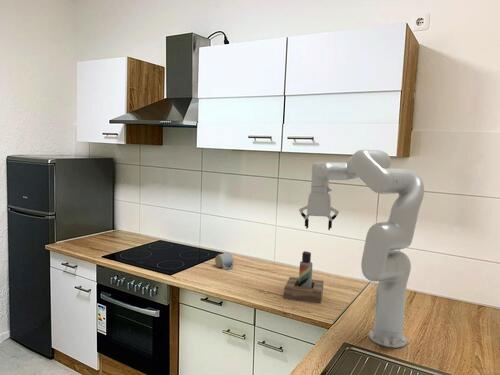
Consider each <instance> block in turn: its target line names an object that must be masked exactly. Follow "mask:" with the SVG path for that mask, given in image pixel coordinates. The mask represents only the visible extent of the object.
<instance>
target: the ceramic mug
mask: <svg viewBox="0 0 500 375" xmlns="http://www.w3.org/2000/svg"><path fill="white" fill-rule="evenodd" d="M214 262H215V265H216V267H218V268H222V269H225V270H228V271H229V270H230V269H231V270H233V268H234V256H233V254H232V253H231V252H229V251H227V252H224V253H219V254H217V255H216V256H215V258H214ZM231 270H230V271H231Z"/></svg>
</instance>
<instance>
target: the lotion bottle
mask: <svg viewBox="0 0 500 375" xmlns="http://www.w3.org/2000/svg"><path fill="white" fill-rule="evenodd" d="M301 254H302V256H301V261H299V274H298V278H299V287H306V288H311V283H312V280H313V278H312V277H313V262H312V261H311V258H312V253H311V252H310V251H305V250H304V251H303V252H302V253H301Z"/></svg>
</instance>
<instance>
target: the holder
mask: <svg viewBox="0 0 500 375" xmlns="http://www.w3.org/2000/svg"><path fill="white" fill-rule="evenodd" d="M324 284H325V283H324V280H319V279H312V283H311V288H306V287H299V277H295V276H289V277H288V280H287V281H286V283H285V287H284V289H283V290H284V291H283V292H284V293H283V299H284V300H289V301H290V300H291V301H297V302H298V301H299V302H304V303H312V304H313V303H314V304H321V303H322V299H323V293H324Z"/></svg>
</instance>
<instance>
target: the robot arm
mask: <svg viewBox="0 0 500 375" xmlns="http://www.w3.org/2000/svg"><path fill="white" fill-rule="evenodd" d="M391 164H392V159H391V156H390V155H389V154H388V153H387V152H385V151H383V150H379V149H377V150H376V149H360V150H357V151H355V153H353V154H352V156H350V157H349V158H348V159H347V161H345V162H339V161H338V162H337V161H333V162H332V161H324V162H317V161H316V162H313V163H312V164H311V165H312V166H311V182H310V183H311V184H310V185H311V187H310V192H309V193H308V198H307V204H306V205H305V206H303V207H301V208H299V209H298V211H299V214H300V215H301V217H302V218H303V219H304V227H305V229H309V217H310V216H313V217H324V218H325V217H327V219H328V227H327V228H328V229H327V230H328V231H330V230H331V229H332V228H333V221H334V220H335V219H336V218H337V216H338V215H339V213H340V211H339V210H337V209H336V208H334V207H332V203H331V202H332V201H331V200H332V199H331V193H330V192H332V191H333V189H332V187H329V184H330V181H346V180H347V181H349V180H353V179H358V178H359V179H360V180H361V181H362V182H363V183H364V184H365V185H366V187H367V188H369V189H370V190H371V191H373V192H374V193H376V194H382V195H387V194H389V195H390V194H392V195H394V194H398V197H397V198H396V199H395V200H394V202H393V203H392V206H391V209H390V214H389V218H388V220H387V221H382V222H376V223H374V224H372V226H370V228H369V229H368V231H367V233H366V236H365V242H364V246H363V252H362V255H361V256H362V257H361V262H360V263H361V265H360V266H361V267H360V268H361V272H362V274H363V277H364V278H365V279H367V280H368V281H370V282H373V283H375V282H377V287H376V294H375V309H374V324H373V329H370V330H369V332H368V338H369V339H370V340H371V341H372V342H373V343H375V344H377V345H380V346H382V347H386V348H393V349H394V348H395V349H396V348H403V347H405V346H406V345H407V343H408V340H407V337H406V336H405V335H404V334H403V331H404V321H405V320H404V319H405V308H406V307H405V305H406V295H407V294H406V293H407V285H408V282H409V278H410V274H411V269H412V264H411V260H410V257H409V256H408V255H407V254H406V253H405V252H403V251H400V250H404V249H407V248H409V247H410V246H411V244H412V242H413V238H414V235H415V234H414V233H415V230H416V225H417V222H418V216H419V212H420V207H421V206H422V202H423V199H424V197H425V196H424V195H425V185H424V182H423V180H422V178H421V176H420V175H419V174H418V173H417V172H415V171H413V170H411V169H407V168H390V167H391ZM305 210H306V213H304V211H305ZM331 211H332V212H333V213H334V214H333V215H331V213H332V212H331Z"/></svg>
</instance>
